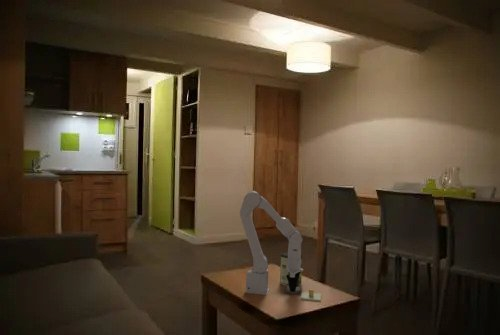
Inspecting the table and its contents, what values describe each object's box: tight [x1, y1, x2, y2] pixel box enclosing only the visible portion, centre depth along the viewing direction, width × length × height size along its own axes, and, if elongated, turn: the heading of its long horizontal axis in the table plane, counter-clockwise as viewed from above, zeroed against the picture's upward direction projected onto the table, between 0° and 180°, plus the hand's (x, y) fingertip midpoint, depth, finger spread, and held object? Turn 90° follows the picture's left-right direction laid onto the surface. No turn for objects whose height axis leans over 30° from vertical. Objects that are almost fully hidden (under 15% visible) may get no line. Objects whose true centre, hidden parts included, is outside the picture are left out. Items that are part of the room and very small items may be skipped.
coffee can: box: [279, 251, 303, 287], centre depth 180 cm, size 10×10×14 cm
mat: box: [283, 288, 303, 296], centre depth 167 cm, size 7×7×1 cm
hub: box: [300, 288, 322, 303], centre depth 161 cm, size 8×8×4 cm
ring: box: [286, 284, 301, 295], centre depth 167 cm, size 6×6×3 cm
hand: (293, 289), depth 167 cm, fingers closed on ring, 6 cm apart
